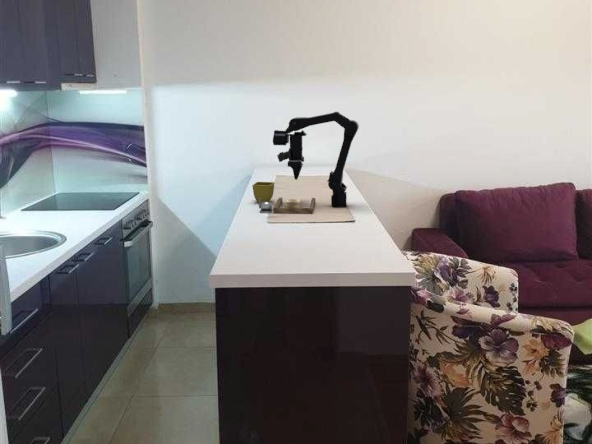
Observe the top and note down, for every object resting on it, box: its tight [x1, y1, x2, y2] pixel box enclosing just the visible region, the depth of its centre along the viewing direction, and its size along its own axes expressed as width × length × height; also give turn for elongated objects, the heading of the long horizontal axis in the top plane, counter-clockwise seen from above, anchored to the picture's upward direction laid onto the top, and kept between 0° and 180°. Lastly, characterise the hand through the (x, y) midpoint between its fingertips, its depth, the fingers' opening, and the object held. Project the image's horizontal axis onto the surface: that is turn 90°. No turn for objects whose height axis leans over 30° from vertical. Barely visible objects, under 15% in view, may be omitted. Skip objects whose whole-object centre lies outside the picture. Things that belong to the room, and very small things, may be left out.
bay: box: [272, 197, 316, 215], centre depth 283 cm, size 17×23×2 cm
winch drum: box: [258, 198, 273, 214], centre depth 275 cm, size 6×5×6 cm
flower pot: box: [252, 181, 275, 204], centre depth 295 cm, size 9×9×9 cm
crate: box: [285, 198, 302, 208], centre depth 275 cm, size 6×6×5 cm
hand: (296, 179), depth 287 cm, fingers closed
